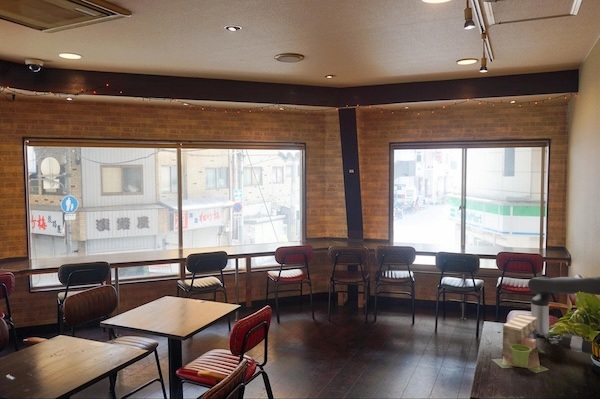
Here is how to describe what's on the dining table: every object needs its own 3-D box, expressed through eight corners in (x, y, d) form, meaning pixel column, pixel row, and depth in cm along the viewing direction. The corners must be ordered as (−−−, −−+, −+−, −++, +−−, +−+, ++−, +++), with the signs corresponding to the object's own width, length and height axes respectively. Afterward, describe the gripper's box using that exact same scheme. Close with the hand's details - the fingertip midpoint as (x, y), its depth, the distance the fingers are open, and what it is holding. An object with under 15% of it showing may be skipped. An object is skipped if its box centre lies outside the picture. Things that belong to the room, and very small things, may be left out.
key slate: (521, 339, 253) (521, 331, 253) (533, 341, 249) (533, 334, 249) (519, 341, 251) (519, 333, 250) (531, 343, 246) (531, 336, 246)
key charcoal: (526, 335, 259) (526, 328, 259) (538, 338, 255) (538, 330, 254) (523, 337, 256) (524, 330, 256) (535, 339, 252) (535, 332, 252)
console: (519, 342, 264) (519, 314, 264) (536, 346, 258) (537, 317, 257) (502, 355, 246) (503, 325, 245) (520, 360, 240) (521, 328, 239)
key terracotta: (523, 344, 246) (523, 336, 245) (535, 347, 241) (536, 339, 241) (520, 346, 243) (521, 338, 242) (533, 349, 239) (533, 341, 238)
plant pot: (534, 368, 230) (534, 351, 229) (514, 368, 230) (515, 351, 230) (525, 361, 239) (525, 344, 239) (506, 361, 239) (507, 344, 239)
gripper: (576, 332, 246) (541, 325, 258) (569, 339, 236) (533, 331, 248) (576, 346, 246) (540, 338, 258) (569, 354, 237) (532, 345, 249)
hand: (537, 335), depth 253 cm, fingers closed
